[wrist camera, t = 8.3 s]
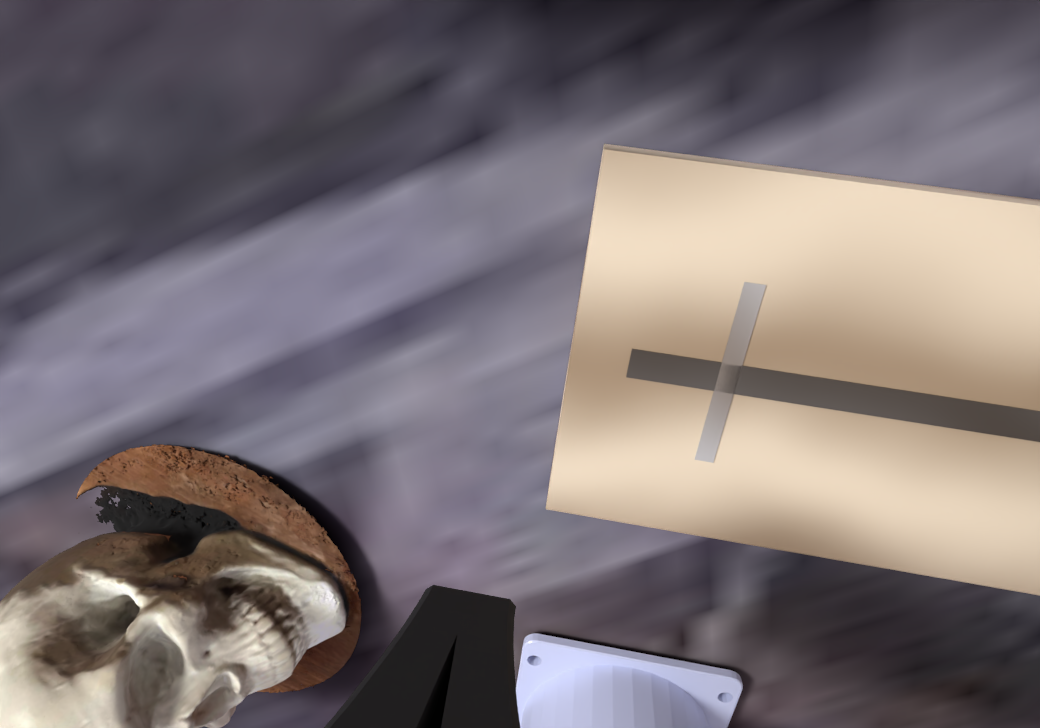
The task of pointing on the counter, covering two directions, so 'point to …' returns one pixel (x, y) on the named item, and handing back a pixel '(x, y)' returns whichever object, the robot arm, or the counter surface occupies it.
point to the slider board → (809, 366)
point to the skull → (176, 602)
